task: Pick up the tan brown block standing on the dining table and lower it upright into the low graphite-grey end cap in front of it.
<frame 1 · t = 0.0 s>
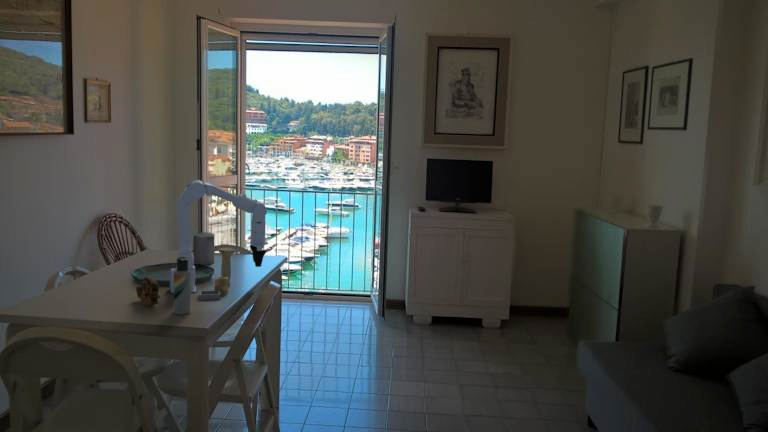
hand: (257, 264, 251), 10 cm above the table, tool pointing down, fingers open, 7 cm apart
wooden carving: (147, 305, 223), on the table
pillar candle: (203, 262, 291), on the table
lotion bottle: (182, 313, 217), on the table
handle: (225, 284, 256), on the table
tan brown block: (221, 292, 244), on the table
end cap: (209, 297, 236), on the table
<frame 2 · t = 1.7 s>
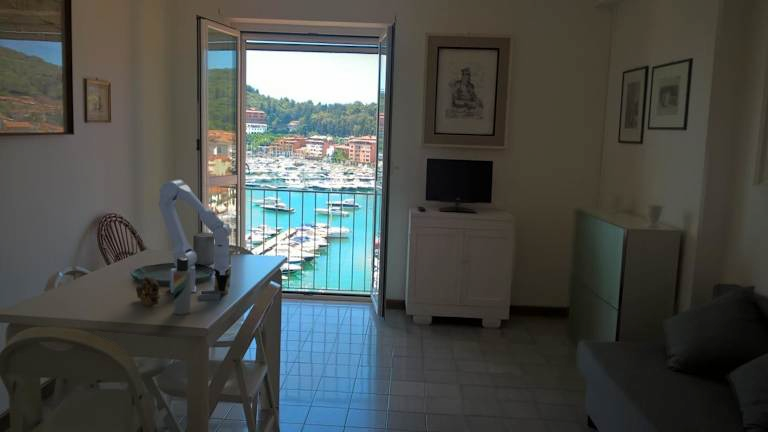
hand: (221, 288, 243), 2 cm above the table, tool pointing down, fingers open, 7 cm apart
nothing on the table moved.
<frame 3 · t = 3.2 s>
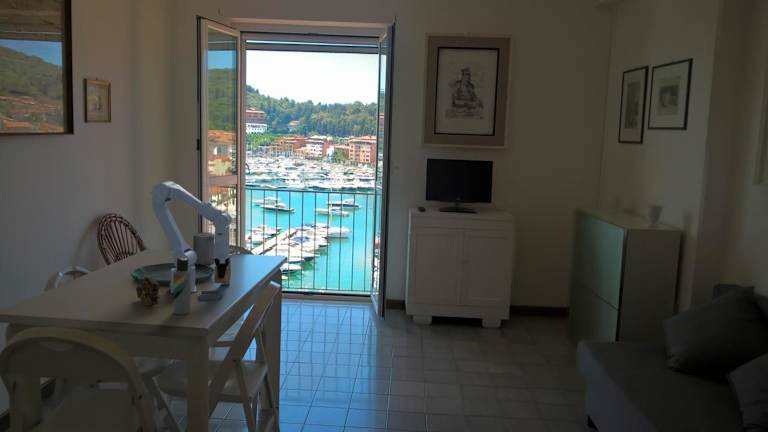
hand: (221, 277, 243), 6 cm above the table, tool pointing down, fingers closed on tan brown block, 3 cm apart
tan brown block: (220, 282, 243), point 4 cm above the table, touching gripper
everything else where it was.
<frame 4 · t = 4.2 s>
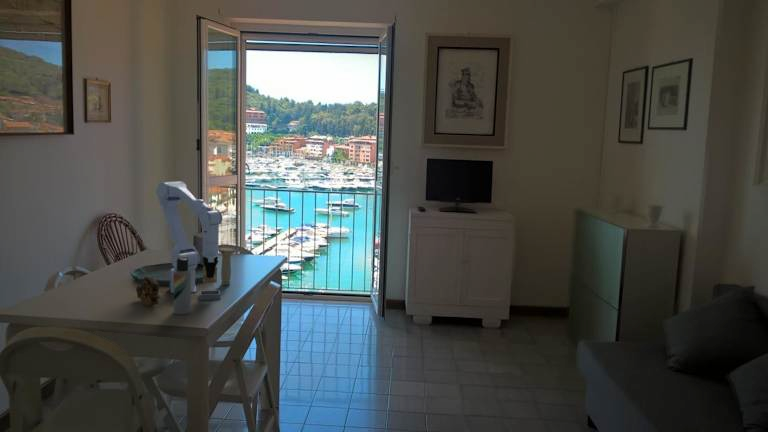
hand: (210, 276, 235), 8 cm above the table, tool pointing down, fingers closed on tan brown block, 3 cm apart
tan brown block: (210, 281, 235), point 6 cm above the table, touching gripper
everything else where it was.
when the fingers open (3 cm above the table, at t = 5.5 s): tan brown block stays where it is, resting in end cap.
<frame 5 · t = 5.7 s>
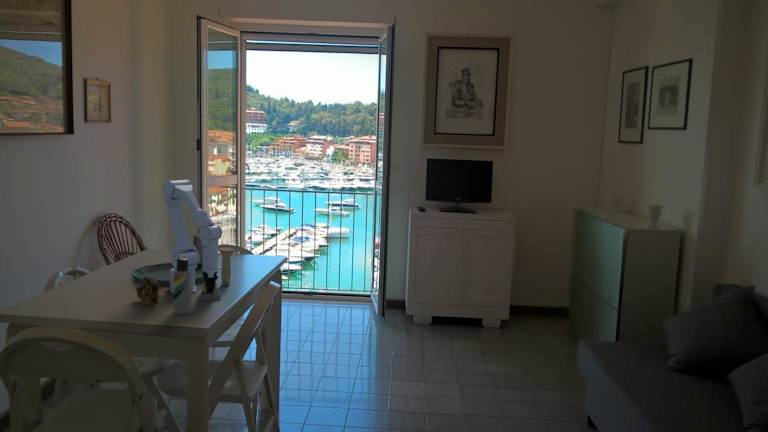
hand: (209, 291, 236), 3 cm above the table, tool pointing down, fingers open, 5 cm apart
tan brown block: (209, 297, 236), resting in end cap
everything else where it was.
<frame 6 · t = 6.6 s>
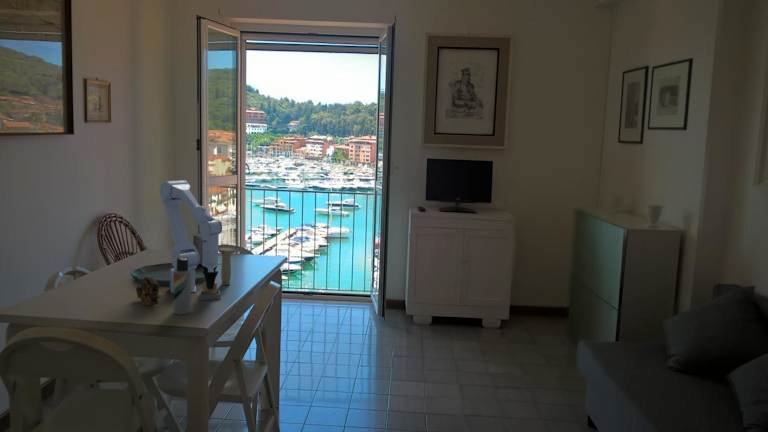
hand: (209, 285, 235), 5 cm above the table, tool pointing down, fingers open, 7 cm apart
nothing on the table moved.
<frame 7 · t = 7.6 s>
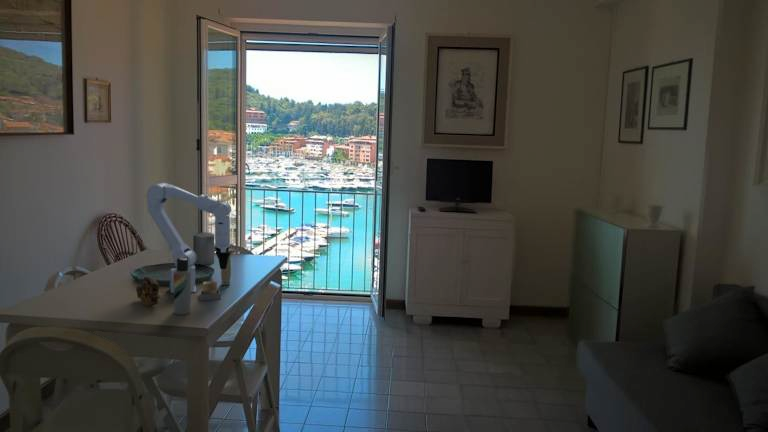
hand: (222, 266, 243), 10 cm above the table, tool pointing down, fingers open, 7 cm apart
nothing on the table moved.
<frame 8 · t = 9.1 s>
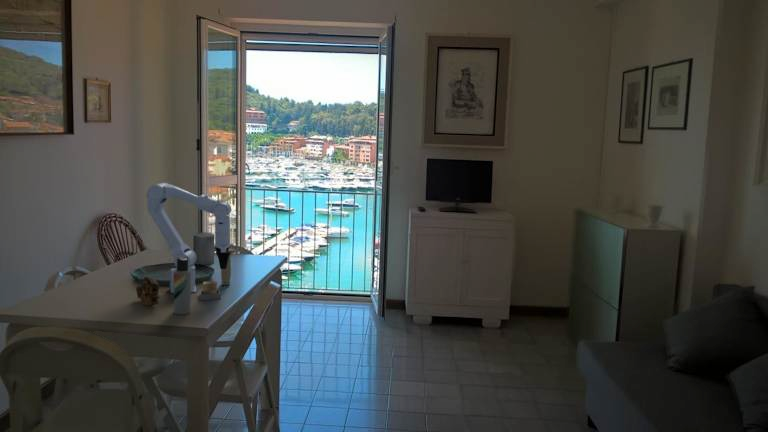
hand: (222, 266, 243), 10 cm above the table, tool pointing down, fingers open, 7 cm apart
nothing on the table moved.
at the end: tan brown block 0.0 cm off-centre on the end cap, point 0.0 cm above the end cap's base; tan brown block tilted 0°; the gripper is holding nothing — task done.
